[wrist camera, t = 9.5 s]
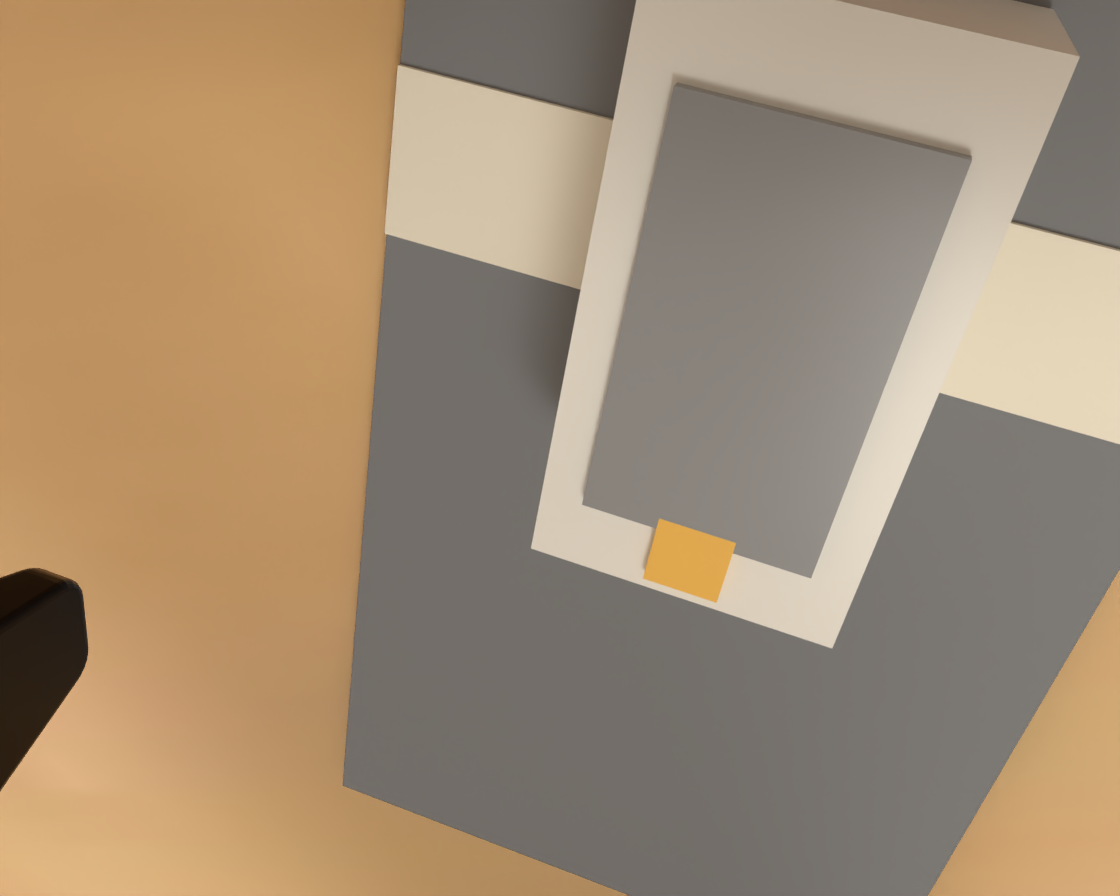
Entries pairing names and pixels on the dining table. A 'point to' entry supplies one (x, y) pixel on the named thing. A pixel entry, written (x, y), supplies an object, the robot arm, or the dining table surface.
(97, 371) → the dining table surface
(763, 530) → the block
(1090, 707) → the dining table surface
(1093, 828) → the dining table surface
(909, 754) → the subfloor mat
